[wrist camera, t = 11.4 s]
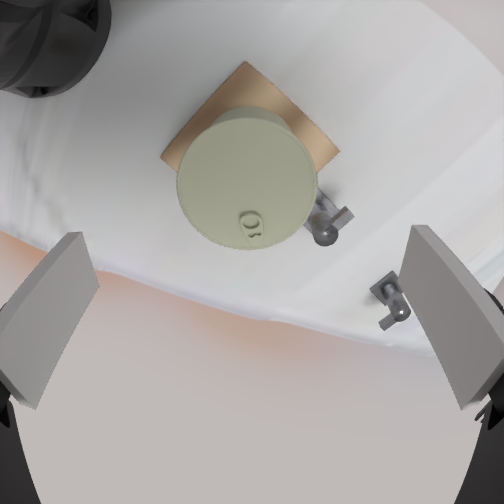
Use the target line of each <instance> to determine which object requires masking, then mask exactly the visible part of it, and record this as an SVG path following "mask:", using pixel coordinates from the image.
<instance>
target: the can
mask: <svg viewBox="0 0 504 504" xmlns="http://www.w3.org/2000/svg"><path fill="white" fill-rule="evenodd" d="M317 189H318V180H317V172H316V168H315V164H314V162H313V159H312V157H311V155H310V153H309V151H308V150H307V148H306V147H305V145H304V144H303V143H302V142H301V140H300V139H298V138H297V137H296V136H295V135H294V134H293V133H292V131H291V129H290V127H289V126H288V124H287V123H286V122H285V121H284V120H283V119H282V118H281V117H280V116H279V115H277V114H276V113H274V112H272V111H270V110H268V109H266V108H262V107H258V106H241V107H236V108H233V109H231V110H228V111H226V112H225V113H223V114H222V115H220V116H219V117H218V118H217V119H216V120H215V121H214V122H213V123H212V124H211V126H210V127H209V128H208V129H206V130H205V131H203V132H202V133H201V134H200V135H198V136H197V137H196V138H195V139H194V140H193V141H192V143H191V144H190V145H189V146H188V148H187V149H186V151H185V153H184V155H183V157H182V159H181V162H180V164H179V168H178V173H177V195H178V199H179V203H180V205H181V208H182V210H183V212H184V214H185V216H186V217H187V219H188V220H189V222H190V223H191V224H192V225H193V227H194V228H195V229H196V230H197V231H198V232H200V233H201V234H202V235H203V236H205V237H206V238H208V239H209V240H211V241H213V242H215V243H217V244H219V245H222V246H225V247H228V248H233V249H239V250H256V249H262V248H266V247H270V246H273V245H275V244H278V243H280V242H282V241H284V240H285V239H287V238H289V237H290V236H291V235H293V234H294V233H295V232H296V231H297V230H298V229H299V228H300V227H301V226H302V225H303V224H304V223H305V221H306V220H307V218H308V217H309V215H310V213H311V211H312V209H313V206H314V204H315V200H316V196H317Z"/></svg>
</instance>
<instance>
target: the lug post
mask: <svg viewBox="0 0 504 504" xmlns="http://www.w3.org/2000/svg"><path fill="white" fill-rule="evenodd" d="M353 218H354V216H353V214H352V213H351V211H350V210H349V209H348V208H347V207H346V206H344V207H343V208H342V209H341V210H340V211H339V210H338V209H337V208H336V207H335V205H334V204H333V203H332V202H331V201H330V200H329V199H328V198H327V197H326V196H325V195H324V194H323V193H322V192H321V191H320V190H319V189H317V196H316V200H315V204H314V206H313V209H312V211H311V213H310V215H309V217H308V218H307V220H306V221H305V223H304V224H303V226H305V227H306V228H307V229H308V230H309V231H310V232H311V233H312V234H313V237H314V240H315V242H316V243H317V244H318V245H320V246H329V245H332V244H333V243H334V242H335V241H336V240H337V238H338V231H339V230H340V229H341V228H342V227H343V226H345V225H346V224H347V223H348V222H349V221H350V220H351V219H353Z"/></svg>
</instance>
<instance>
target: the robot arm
mask: <svg viewBox="0 0 504 504" xmlns="http://www.w3.org/2000/svg"><path fill="white" fill-rule="evenodd" d="M110 24H111V7H110V2H109V0H0V90H4V91H8V92H11V93H14V94H17V95H21V96H24V97H27V98H42V97H48V96H53V95H57V94H60V93H62V92H64V91H66V90H68V89H69V88H71V87H72V86H74V85H75V84H76V83H78V82H79V81H80V80H81V79H82V78H83V77H84V76H85V75H86V74H87V73H88V72H89V70H90V69H91V68H92V67H93V65H94V64H95V62H96V61H97V59H98V57H99V56H100V54H101V52H102V50H103V48H104V46H105V43H106V40H107V37H108V34H109V30H110ZM397 282H398V284H399V286H400V287H401V289H402V291H403V293H404V294H405V296H406V298H407V300H408V301H409V303H410V305H411V307H412V309H413V310H414V312H415V314H416V316H417V318H418V320H419V321H420V323H421V325H422V327H423V329H424V331H425V333H426V335H427V337H428V339H429V341H430V343H431V345H432V347H433V349H434V351H435V353H436V355H437V357H438V359H439V361H440V363H441V365H442V367H443V369H444V372H445V374H446V376H447V378H448V380H449V383H450V385H451V387H452V390H453V391H454V394H455V397H456V399H457V401H458V403H459V406H460V409H461V410H464V409H467V408H469V407H472V406H475V405H478V404H479V403H480V402H481V401H482V399H483V398H484V397H485V396H486V395H487V394H489V396H490V398H491V400H490V401H489V402H488V403H487V405H486V406H485V407H484V408H483V409H482V410H481V411H480V412H479V413H478V414H477V416H476V418H475V420H476V421H477V420H478V419H479V418H480V417H481V416H482V415H483V414H484V413H485V414H484V418H483V419H482V420H481V423H482V427H481V430H480V434H479V437H478V441H477V444H476V447H475V450H474V454H473V457H472V460H471V462H470V465H469V468H468V471H467V474H466V476H465V479H464V482H463V484H462V486H461V489H460V491H459V494H458V496H457V498H456V501H455V503H454V504H504V309H503V306H502V305H501V304H500V302H499V301H498V300H497V299H496V297H495V296H493V295H492V294H491V293H490V292H488V291H487V290H486V289H485V288H484V289H483V287H482V286H481V285H480V284H479V282H478V281H477V280H476V279H475V277H474V276H473V275H472V274H471V273H470V271H469V270H468V269H467V268H466V267H465V266H464V264H463V263H462V262H461V261H460V260H459V259H458V258H457V256H456V255H455V254H454V253H453V252H452V251H451V250H450V249H449V248H448V246H447V245H446V244H445V243H444V242H443V241H442V240H441V239H440V238H439V237H438V236H437V235H436V234H435V233H434V232H433V231H432V230H431V228H430V227H429V226H428V225H412V226H411V231H410V235H409V239H408V243H407V247H406V251H405V255H404V259H403V263H402V267H401V270H400V274H399V277H398V281H397ZM98 288H99V283H98V280H97V277H96V275H95V272H94V269H93V266H92V263H91V260H90V257H89V253H88V250H87V247H86V244H85V241H84V237H83V234H82V232H70V233H67V234H66V235H65V236H64V237H63V238H62V239H61V240H60V241H59V242H58V243H57V244H56V246H55V247H54V248H53V249H52V250H51V251H50V252H49V253H48V254H47V255H46V256H45V258H44V259H43V260H42V261H41V262H40V263H39V264H38V265H37V266H36V268H35V269H34V270H33V271H32V272H31V273H30V275H29V276H28V277H27V278H26V279H25V280H24V282H23V283H22V284H21V285H20V287H19V288H18V289H17V291H16V292H15V293H14V294H13V295H12V297H11V298H10V299H9V300H8V302H7V303H5V304H4V306H3V307H2V308H1V310H0V504H41V502H40V500H39V497H38V495H37V492H36V489H35V486H34V484H33V481H32V478H31V475H30V472H29V469H28V465H27V462H26V459H25V455H24V452H23V448H22V444H21V440H20V436H19V432H18V428H17V423H16V418H15V414H14V409H13V405H12V403H11V402H10V401H9V400H8V399H9V397H10V395H11V394H12V395H13V397H15V399H16V400H17V401H18V402H19V403H20V404H21V405H24V406H27V407H29V408H32V409H36V408H37V405H38V403H39V401H40V399H41V396H42V394H43V392H44V390H45V387H46V385H47V383H48V381H49V379H50V377H51V375H52V372H53V370H54V368H55V366H56V364H57V362H58V360H59V358H60V356H61V354H62V353H63V351H64V349H65V347H66V344H67V343H68V341H69V339H70V337H71V335H72V334H73V332H74V330H75V328H76V326H77V324H78V323H79V321H80V319H81V317H82V316H83V314H84V312H85V310H86V309H87V307H88V305H89V303H90V302H91V300H92V298H93V297H94V295H95V293H96V292H97V290H98Z"/></svg>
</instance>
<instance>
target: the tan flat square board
mask: <svg viewBox="0 0 504 504" xmlns="http://www.w3.org/2000/svg"><path fill="white" fill-rule="evenodd" d="M241 106H258V107H262V108H266V109H268V110H270V111H272V112H274V113H276V114H277V115H279V116H280V117H281V118H282V119H283V120H284V121H285V122H286V123H287V124H288V126H289V127H290V129H291V131H292V133H293V134H294V135H295V136H296V137H297V138H298V139H300V140H301V142H302V143H303V144H304V145H305V147H306V148H307V150H308V151H309V153H310V155H311V157H312V159H313V162H314V164H315V168H316V172H319V171H320V170H321V169H322V168H323V167H324V166H325V165H326V164H327V163H328V162H329V161H330V160H332V159H333V158H334V157H335V156H336V155H337V154H338V153H339V152H340V151H339V149H338V148H337V147H336V146H335V145H334V144H333V143H332V142H331V141H330V140H329V139H328V138H327V137H326V136H325V134H324V133H323V132H322V131H321V130H320V129H319V128H318V127H317V126H316V125H315V124H314V123H313V122H312V121H311V120H310V119H309V118H308V117H307V116H306V115H305V114H304V113H303V112H302V111H301V110H300V109H299V108H298V107H297V106H296V105H295V104H294V103H293V102H291V101H290V100H289V99H288V98H287V97H286V96H285V95H284V94H283V93H282V92H281V91H280V90H279V89H277V88H276V87H275V86H274V85H273V84H272V83H271V82H270V81H269V80H267V79H266V78H265V77H264V76H263V75H262V74H261V73H259V72H258V71H257V70H256V69H255V68H254V67H252V66H251V65H250V64H249V63H248V62H246V61H245V62H244V63H243V64H242V65H241V66H240V67H239V68H238V69H237V70H236V71H235V72H234V73H233V74H232V75H231V76H230V77H229V78H228V79H227V80H226V81H225V82H224V83H223V84H222V85H221V86H220V88H219V89H218V90H217V91H216V92H215V93H214V94H213V95H212V96H211V97H210V98H209V99H208V100H207V102H206V103H205V104H204V105H203V106H202V107H201V108H200V109H199V111H198V112H197V113H196V114H195V115H194V116H193V117H192V119H191V120H190V121H189V122H188V123H187V124H186V126H185V127H184V128H183V129H182V130H181V132H180V133H179V134H178V135H177V136H176V138H175V139H174V140H173V141H172V143H171V144H170V145H169V146H168V148H167V149H166V150H165V151H164V153H163V154H162V155H161V156H160V158H161V159H162V160H163V161H165V162H166V163H167V164H168V165H170V166H171V167H172V168H173V169H175V170H176V171H177V172H178V168H179V164H180V162H181V159H182V157H183V155H184V153H185V151H186V149H187V148H188V146H189V145H190V144H191V143H192V141H193V140H194V139H195V138H196V137H197V136H198V135H200V134H201V133H202V132H203V131H205V130H206V129H208V128H209V127H210V126H211V124H212V123H213V122H214V121H215V120H216V119H217V118H218V117H219V116H220V115H222V114H223V113H225V112H226V111H228V110H231V109H233V108H236V107H241Z"/></svg>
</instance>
